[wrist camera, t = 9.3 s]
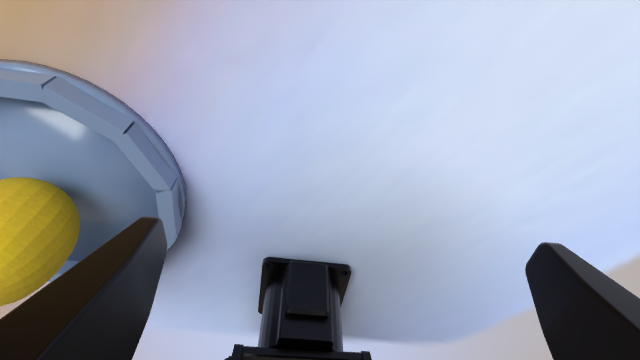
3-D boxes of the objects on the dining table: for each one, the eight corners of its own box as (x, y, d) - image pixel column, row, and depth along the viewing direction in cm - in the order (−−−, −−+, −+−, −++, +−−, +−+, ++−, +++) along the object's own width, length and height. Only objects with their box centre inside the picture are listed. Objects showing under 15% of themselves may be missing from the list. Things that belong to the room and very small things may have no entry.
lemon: (97, 159, 21) (-1, 271, 14) (109, 228, 24) (34, 346, 18) (-10, 142, 20) (-164, 252, 14) (17, 216, 23) (-97, 333, 17)
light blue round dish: (191, 272, 28) (184, 294, 26) (-23, 252, 26) (-46, 274, 25) (178, 83, 19) (165, 99, 17) (-144, 37, 18) (-191, 50, 16)
